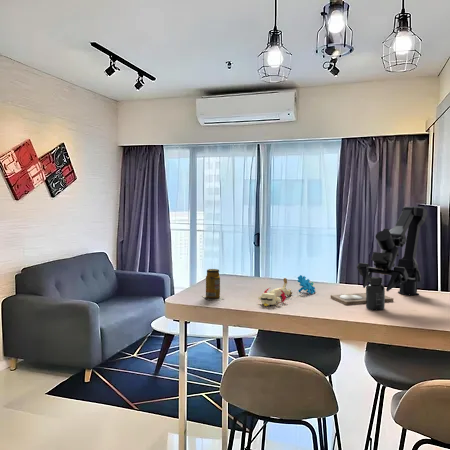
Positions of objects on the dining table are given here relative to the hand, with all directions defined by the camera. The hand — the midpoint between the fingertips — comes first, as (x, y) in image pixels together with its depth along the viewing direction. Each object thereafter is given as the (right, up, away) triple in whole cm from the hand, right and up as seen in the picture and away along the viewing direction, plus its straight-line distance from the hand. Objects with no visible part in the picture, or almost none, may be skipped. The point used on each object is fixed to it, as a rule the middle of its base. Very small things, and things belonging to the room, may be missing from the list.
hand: (375, 289), depth 167 cm
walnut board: (-1, -7, +15) cm, 16 cm away
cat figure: (-36, -7, +14) cm, 39 cm away
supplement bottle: (0, -8, +1) cm, 8 cm away
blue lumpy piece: (-21, -6, +28) cm, 36 cm away
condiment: (-62, -7, +18) cm, 65 cm away
